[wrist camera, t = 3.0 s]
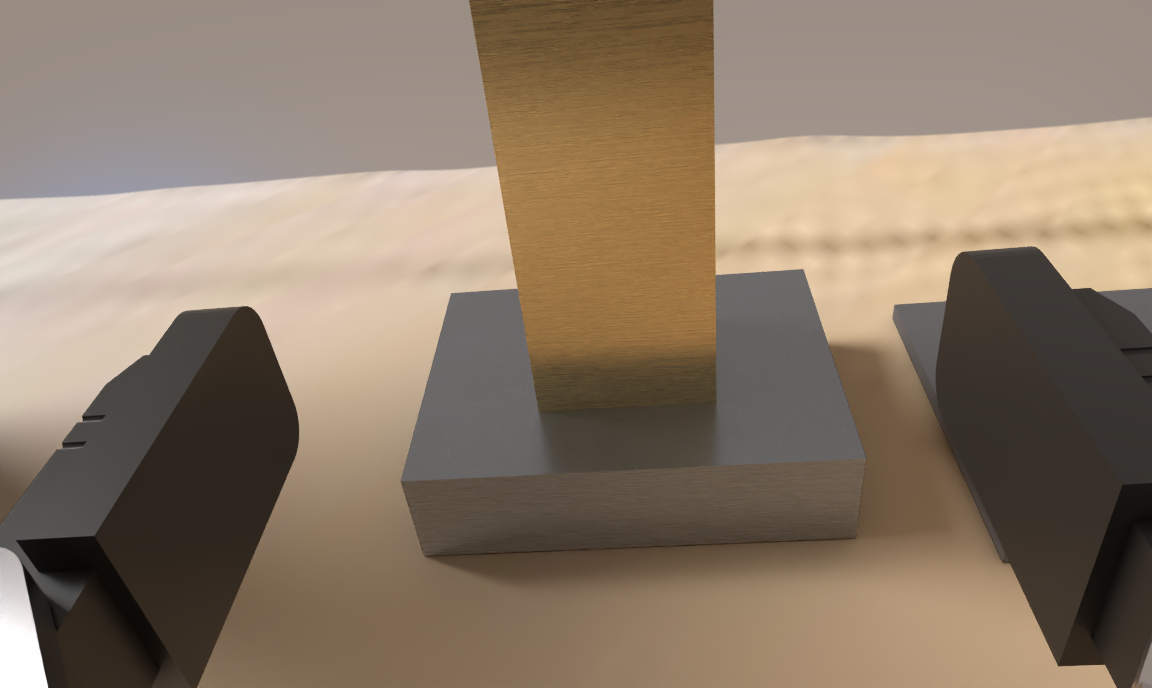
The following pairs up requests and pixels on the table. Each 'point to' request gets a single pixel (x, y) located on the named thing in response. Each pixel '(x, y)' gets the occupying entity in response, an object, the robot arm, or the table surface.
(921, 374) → the flat gray metal plate
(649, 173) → the tall wooden pillar
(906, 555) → the table surface
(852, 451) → the grey metal rectangular block
